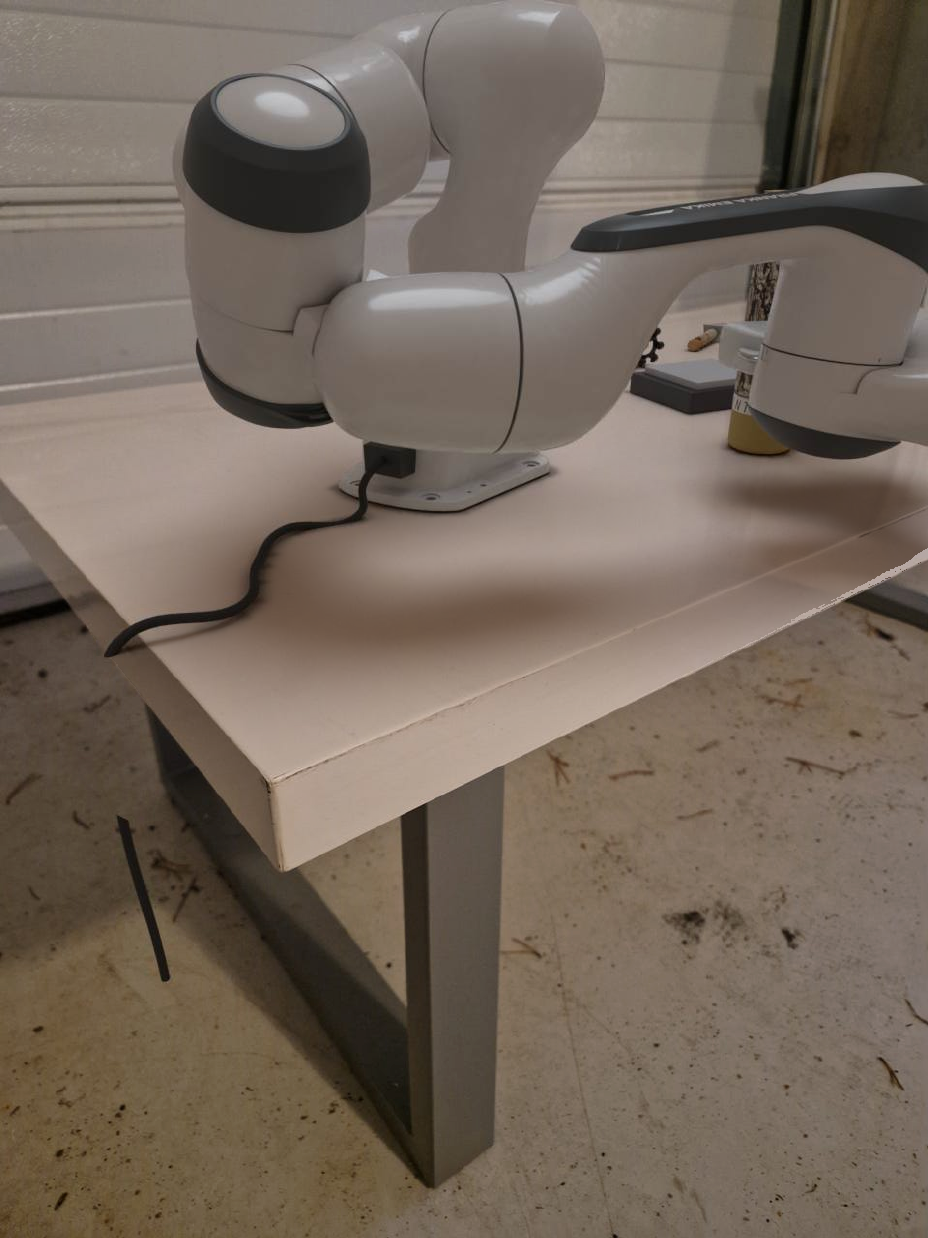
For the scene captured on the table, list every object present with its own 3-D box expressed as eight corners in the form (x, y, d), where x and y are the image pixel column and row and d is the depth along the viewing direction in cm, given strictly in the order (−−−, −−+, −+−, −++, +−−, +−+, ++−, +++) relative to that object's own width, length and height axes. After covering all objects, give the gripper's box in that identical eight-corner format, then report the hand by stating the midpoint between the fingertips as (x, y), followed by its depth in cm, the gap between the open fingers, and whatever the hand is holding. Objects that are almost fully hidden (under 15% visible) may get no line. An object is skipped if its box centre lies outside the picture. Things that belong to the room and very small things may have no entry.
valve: (625, 382, 118) (662, 367, 127) (628, 334, 115) (667, 322, 123) (584, 376, 122) (623, 362, 130) (587, 329, 119) (627, 318, 127)
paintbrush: (742, 315, 150) (703, 338, 135) (740, 331, 151) (701, 355, 137) (721, 313, 151) (681, 335, 137) (719, 329, 153) (679, 352, 139)
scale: (689, 414, 103) (692, 385, 101) (629, 391, 113) (631, 365, 112) (770, 402, 108) (775, 375, 106) (706, 382, 118) (709, 356, 116)
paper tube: (741, 434, 95) (779, 189, 83) (800, 445, 91) (849, 190, 79) (715, 448, 90) (752, 191, 78) (777, 460, 87) (825, 191, 75)
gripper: (748, 400, 69) (690, 366, 81) (976, 391, 71) (887, 359, 83) (760, 321, 66) (698, 298, 78) (998, 314, 68) (902, 292, 80)
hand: (797, 329), depth 81 cm, fingers open, 8 cm apart
